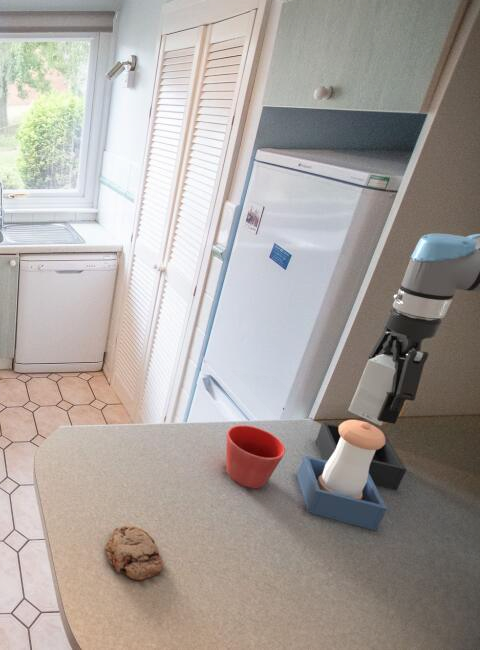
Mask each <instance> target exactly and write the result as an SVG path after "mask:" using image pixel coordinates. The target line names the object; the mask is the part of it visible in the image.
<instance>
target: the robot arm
mask: <svg viewBox="0 0 480 650" xmlns="http://www.w3.org/2000/svg"><path fill="white" fill-rule="evenodd" d="M409 258H410V260H409V263H408V265H407V268H406V270H405V274H404V275H403V276H404V277H403V279H402V282H401V283H400V286H399V289H398V291H397V294H393V299H394V301H393V303H392V307H393V308H392V309H390V310H389V313H388V315H387V318H386V321H385V323H384V324H385V325H384V328H383V331H382V333H381V334H380V336H379V339H378V340H377V342H376V343H375V345H374V347H373V349H372V350H371V352H370V353H369V355H368V357H367V358H368V360H369V359H372V358H374V357H376V356H378V355H381V354H387V355H393V359H392V360H393V362H395V369H396V371H395V374H394V377H393V384H392V391H391V392H387V396H386V399H385V401H384V403H383V406H382V408H381V410H380V413H379V415H378V417H377V419H378V421H382V422H387V423H388V424H393V425H395V424H396V422H397V420H398V418H399V417H400V416H399V413H400V411H401V409H402V407H403V405H404V402H405V400H407V401H413V402H414V401H415V399H416V396H417V394H418V389H419V385H420V381H421V377H422V373H423V369H424V366H425V363H426V361H427V359H428V357H429V352H428V351H423V350H422V343H423V341H424V340H426V339H432V338H434V337H435V336H437V333H438V331H439V329H440V326H441V324H442V322H443V321H442V319H443V318H444V317H445V316H446V314H447V313H448V310H449V307H450V305H451V303H452V301H453V299H454V295H455V293H456V292H457V290H462V291H467V292H468V291H469V292H477V293H480V233H475V234H470V235H468V236H463V235H458V234H457V235H456V234H452V233H451V234H449V233H427V234H425V235H423V236H421V237H420V239H419V240H418V242H417V244H416V246H415V247H414V250H413V253H412V254H411V255H410V257H409ZM400 358H405V359H400ZM398 416H399V417H398ZM387 423H386V424H387Z"/></svg>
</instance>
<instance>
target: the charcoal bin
mask: <svg viewBox="0 0 480 650" xmlns="http://www.w3.org/2000/svg"><path fill="white" fill-rule="evenodd" d="M339 426H340V424H339V425H338V424H333V423H330V422H329V423H328V422H324V421H322V423H321V426H320V428H319V431H318V433H317V436H316V439H315V443H316V446H317V449H318V451H319V454H320V456H321V459H322V460H326V461H328V460H329V459H330V457H331V456H332V454H333V453H334V451H335V450H336V447H337V445H338V442H339V440H340V437H341V436H340V434H339ZM384 436H385V445H384V446H383V447H381V448H380V449H377V450H376V451H375V454H374V456H373V458H372V461H371V463H370V466H369V474H370V476H371V478H372V480H373V482H374V484H375V486H376V487H381V488H383V489H384V488H385V489H389V490H392V491H398V489H399V486H400V485H401V482H402V481H403V478H404V476H405V475H406V472H407V467H406V466H405V464H404V463H403V461H402V459H401V458H400V456H399V454H398V453H397V451H396V449H395V447H394V446H393V445H392V443H391V441H390V440H389V438H388V436H387V435H386V434H384Z"/></svg>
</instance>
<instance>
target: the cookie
mask: <svg viewBox="0 0 480 650" xmlns="http://www.w3.org/2000/svg"><path fill="white" fill-rule="evenodd" d="M104 551H105V555H106V557H107V560H108V562H109V563H110V565H111V566H112V567H113V568H114V569H115V571H116V572H117V573H118V574H123V575H125V576H127V578H130V579H132V580H136V581H143V580H146V579H150V578H152V577H154V576H157V575H158V574H159V573H160V572H161V571H163V570H162V569H163V566H164V561H163V560H162V557H161V555H160V553H159V548H158V546H157V544H156V542H155V540H154V538H153V537H152V535H151V534H150V533H149V532H147V531H146V530H144V529H142V528H140V527H137V526H134V525H122V526H121V527H120V528H118V527H116V528H115V529H114V530H113V536H111V537H110V538H109V539H108V542H106V543H105V545H104Z"/></svg>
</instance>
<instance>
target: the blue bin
mask: <svg viewBox="0 0 480 650" xmlns="http://www.w3.org/2000/svg"><path fill="white" fill-rule="evenodd" d="M326 463H327V461H326V460H323V459H322V458H317V457H313V456H308V455H303V458H302V460H301V463H300V466H299V468H298V472H297V475H296V477H297V481H298V484H299V489H300V491H301V494H302V498H303V501H304V505H305V507H306V511H307V513H309V514H312V515H317V516H319V517H324V518H327V519H330V520H335V521H338V522H342V523H345V524H350V525H352V526H357V527H361V528H365V529H368V530H371V531H374V532H376V531H377V530H378V528H379V526H380V524H381V522H382V520H383V518H384V516H385V514H386V511H387V506H386V504H385V502H384V499H383V498H382V496H381V494H380V492H379V490H378V488H377V486H376V485H375V484H374V482H373V480H372V478H371V476H370V474H369V472H368V477H367V482H366V484H365V486H364V488H363V490H362V493H363V496H362V499H361V500H360V499H356V498H352V497H348V496H344V495H340V494H337V493H333V492H329V491H325V490H321V489H320V488H319V485H318V483H317V480H318V477H319V476H320V475H322V474H323V471H324V468H325V465H326Z"/></svg>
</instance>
